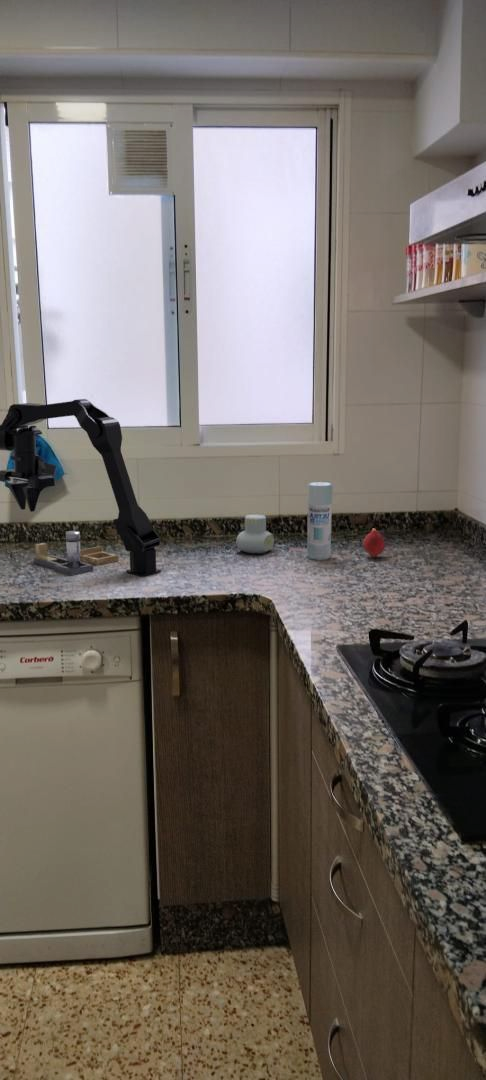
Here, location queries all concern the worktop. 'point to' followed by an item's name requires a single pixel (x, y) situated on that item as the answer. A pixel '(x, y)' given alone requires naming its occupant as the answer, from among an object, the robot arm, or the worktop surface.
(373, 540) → the onion
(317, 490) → the spray paint can
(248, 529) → the air freshener
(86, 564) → the socket block
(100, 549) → the wooden tray
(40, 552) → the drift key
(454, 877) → the worktop surface
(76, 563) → the salt shaker
